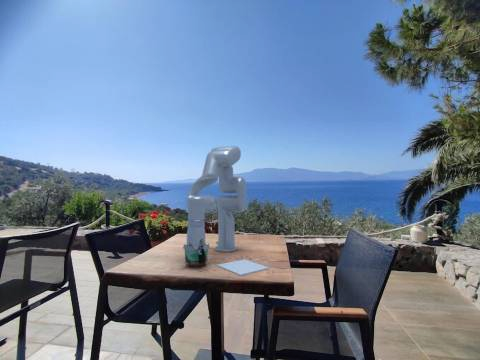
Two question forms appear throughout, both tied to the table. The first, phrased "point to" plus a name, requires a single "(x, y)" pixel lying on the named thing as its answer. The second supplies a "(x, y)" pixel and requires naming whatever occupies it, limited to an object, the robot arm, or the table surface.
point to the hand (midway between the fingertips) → (196, 260)
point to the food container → (193, 256)
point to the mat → (242, 267)
